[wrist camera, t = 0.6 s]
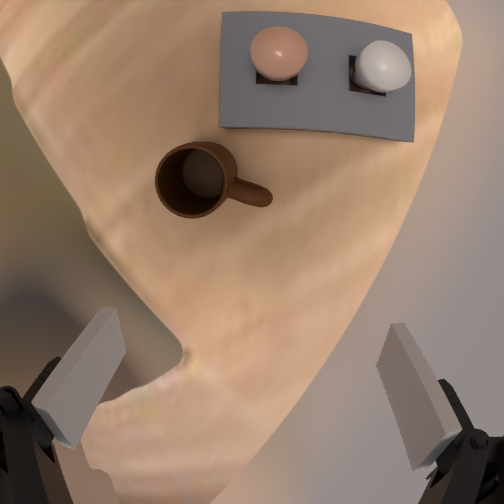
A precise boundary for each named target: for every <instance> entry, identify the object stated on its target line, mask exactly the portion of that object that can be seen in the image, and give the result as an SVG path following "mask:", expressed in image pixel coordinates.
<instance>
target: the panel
mask: <svg viewBox="0 0 504 504" xmlns="http://www.w3.org/2000/svg"><path fill="white" fill-rule="evenodd" d="M275 26H280V27H286V28H290V29H292V30H294V31H296V32H297V33H298V34H300V35H301V36H302V38H303V39H304V40H305V42H306V44H307V48H308V56H307V60H306V62H305V64H304V66H303V68H302V70H301V71H300V72H299V73H298V74H297V75H296V76H295V77H294V85H277V84H257V71H256V69H255V68H254V66H253V63H252V59H251V53H250V46H251V43H252V40H253V39H254V37H255V36H256V35H257V34H258V33H259V32H261V31H262V30H264V29H266V28H269V27H275ZM380 40H382V41H388V42H391V43H393V44H395V45H397V46H398V47H399V48H400V49H402V51H403V52H404V53H405V54H406V56H407V57H408V59H409V62H410V65H411V76H410V79H409V81H408V83H407V84H406V85H404V86H403V87H401V88H398V89H395V90H392V91H389V92H377V91H374V90H372V94H367V93H361V92H354V91H349V66H352V67H355V61H356V58H357V56H358V54H359V53H360V52H361V51H362V50H363V49H364V48H365V47H367V46H368V45H369V44H370V43H372V42H374V41H380ZM414 126H415V77H414V57H413V43H412V34H410V33H407V32H403V31H399V30H396V29H392V28H388V27H384V26H379V25H375V24H370V23H366V22H360V21H355V20H349V19H343V18H337V17H330V16H322V15H313V14H303V13H289V12H261V11H248V12H222V27H221V54H220V92H219V127H221V128H225V129H236V128H241V129H284V130H302V131H316V132H328V133H339V134H348V135H357V136H365V137H373V138H380V139H386V140H393V141H402V142H414Z"/></svg>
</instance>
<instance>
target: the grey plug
mask: <svg viewBox="0 0 504 504" xmlns="http://www.w3.org/2000/svg"><path fill="white" fill-rule="evenodd" d="M410 76H411V65H410V62H409V59H408V57H407V56H406V54H405V53H404V52H403V51H402V49H400V48H399V47H398V46H397V45H395V44H393V43H391V42H388V41H382V40H380V41H374V42H372V43H370V44H369V45H368V46H367V47H365V48H364V49H363V50H362V51H361V52H360V53H359V54H358V56H357V58H356V61H355V68H354V70H353V71H352V74H351V77H352V81H353V83H354V84H355V85H356V86H357V87H358V88H360V89H363V90H368V89H372V90H374V91H377V92H389V91H392V90H395V89H398V88H401V87H403V86H404V85H406V84H407V83H408V81H409V79H410Z"/></svg>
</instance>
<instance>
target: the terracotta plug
mask: <svg viewBox="0 0 504 504" xmlns="http://www.w3.org/2000/svg"><path fill="white" fill-rule="evenodd" d="M250 53H251V59H252V63H253V66H254V68H255V69H256V71H257V72H258V73H259V74H261V75H262V76H263V77H265V78H267V79H270V80H273V81H284V80H288V79H291V78H293V77H295V76H296V75H297V74H298V73H299V72H300V71H301V70H302V68H303V66H304V64H305V62H306V60H307V56H308V48H307V44H306V42H305V40H304V39H303V38H302V36H301V35H300V34H298V33H297V32H296V31H294V30H292V29H290V28H286V27H280V26H275V27H269V28H266V29H264V30H262V31H261V32H259V33H258V34H257V35H256V36H255V37H254V39H253V40H252V43H251V46H250Z"/></svg>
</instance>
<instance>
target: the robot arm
mask: <svg viewBox="0 0 504 504" xmlns="http://www.w3.org/2000/svg"><path fill="white" fill-rule="evenodd" d="M125 353H126V348H125V345H124V340H123V337H122V333H121V328H120V324H119V319H118V315H117V310H116V308H110V307H102V308H101V309H100V311H99V312H98V313H97V314H96V316H95V317H94V318H93V319H92V320H91V322H90V323H89V324H88V326H87V327H86V328H85V329H84V330H83V332H82V333H81V334H80V336H79V337H78V338H77V339H76V341H75V342H74V343H73V345H72V346H71V347H70V349H69V350H68V351H67V353H66V354H65V356H64V357H63V358H60V357H56V358H54V359H53V360H52V361H50V362H49V363H48V364H47V365H46V367H45V368H44V369H43V370H42V372H41V373H40V375H39V376H38V379H37V378H36V380H35V381H34V383H33V384H32V385H31V387H30V388H29V389H28V391H27V392H26V394H25V395H24V397H23V398H21V397H20V395H19V393H18V392H17V390H16V389H15V388H13V387H11V386H3V387H1V388H0V504H73V501H72V499H71V496H70V493H69V491H68V488H67V485H66V482H65V480H64V477H63V474H62V471H61V468H60V464H59V461H58V458H57V455H56V451H55V447H54V445H53V443H52V440H53V438H54V436H55V438H56V439H57V440H58V442H59V443H60V444H61V445H64V446H66V447H69V448H71V449H74V450H75V449H76V447H77V444H78V442H79V440H80V438H81V436H82V434H83V432H84V430H85V428H86V426H87V424H88V422H89V420H90V418H91V416H92V414H93V412H94V410H95V409H96V407H97V405H98V403H99V401H100V399H101V397H102V395H103V393H104V391H105V389H106V388H107V386H108V384H109V382H110V380H111V378H112V377H113V374H114V373H115V371H116V369H117V367H118V366H119V364H120V362H121V360H122V358H123V356H124V355H125ZM376 367H377V370H378V372H379V375H380V377H381V380H382V382H383V385H384V388H385V391H386V393H387V396H388V399H389V402H390V404H391V407H392V410H393V413H394V416H395V418H396V421H397V424H398V427H399V430H400V433H401V436H402V439H403V442H404V445H405V448H406V451H407V454H408V458H409V461H410V464H411V468H412V471H413V472H414V471H418V470H421V469H425V468H428V467H429V466H430V465H431V464H432V463H433V462H434V461H435V460H436V463H437V467H436V468H435V469H434V470H433V471H432V472H431V473H430V474H429V475H428V476H427V478H426V479H427V480H428V479H429V478H430V477H431V479H430V481H429V483H428V485H427V487H426V489H425V491H424V493H423V495H422V497H421V499H420V501H419V503H418V504H504V436H503V437H489V436H488V435H487V433H486V432H484V431H482V430H479V429H475V428H474V427H473V425H472V423H471V421H470V419H469V417H468V415H467V413H466V411H465V409H464V407H463V406H462V404H461V403H460V400H459V398H458V397H457V394H456V392H455V391H454V389H453V387H452V386H451V385H450V384H449V383H448V382H447V381H446V380H445V379H440V380H437V378H436V376H435V375H434V373H433V371H432V369H431V367H430V366H429V364H428V362H427V360H426V359H425V357H424V355H423V354H422V352H421V350H420V348H419V347H418V345H417V343H416V342H415V340H414V338H413V336H412V335H411V333H410V332H409V330H408V328H407V327H406V325H405V324H404V323H402V324H401V323H399V324H391V325H390V328H389V332H388V334H387V337H386V340H385V343H384V346H383V349H382V351H381V354H380V357H379V360H378V362H377V365H376Z"/></svg>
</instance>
